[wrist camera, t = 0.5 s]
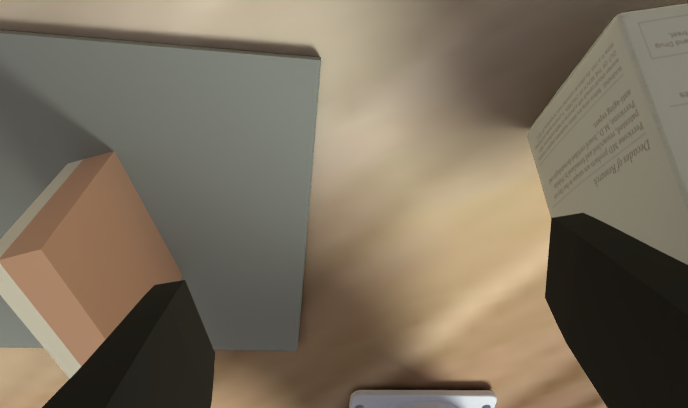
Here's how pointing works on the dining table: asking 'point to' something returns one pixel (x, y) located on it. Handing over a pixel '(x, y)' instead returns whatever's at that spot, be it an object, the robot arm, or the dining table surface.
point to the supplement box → (623, 131)
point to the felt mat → (176, 163)
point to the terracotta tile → (82, 259)
